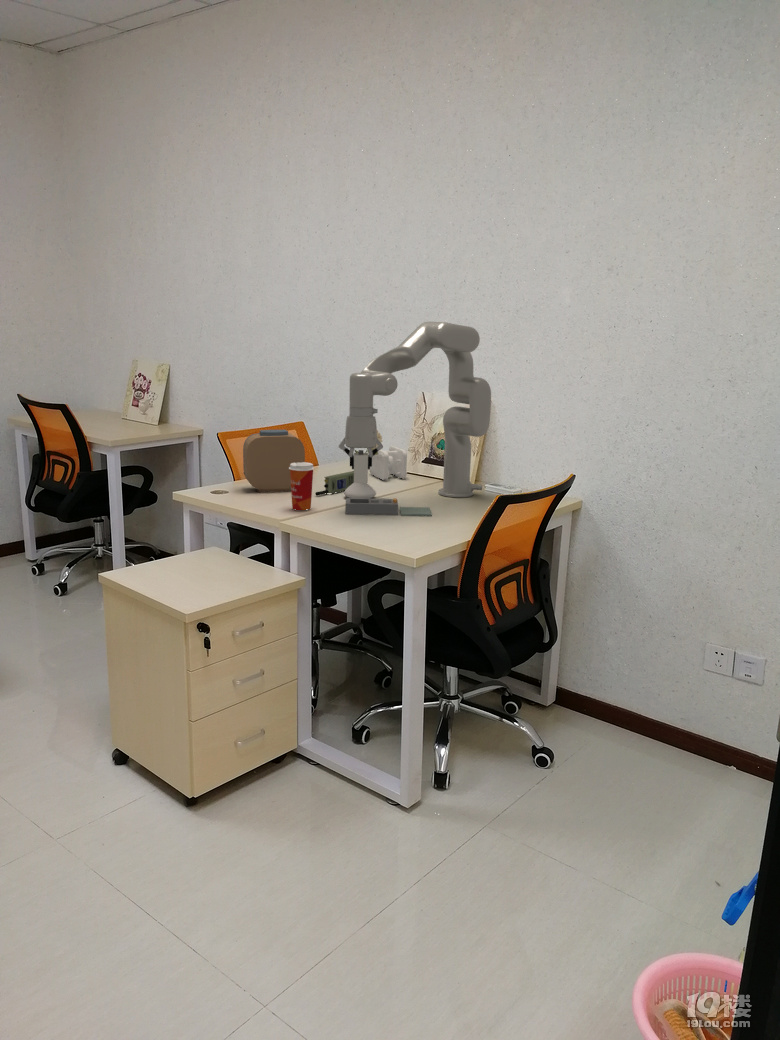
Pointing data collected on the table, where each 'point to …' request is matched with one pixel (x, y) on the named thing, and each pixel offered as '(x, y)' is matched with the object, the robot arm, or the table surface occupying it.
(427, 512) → the mat
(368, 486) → the flower in vase
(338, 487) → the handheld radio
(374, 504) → the power strip
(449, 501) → the table surface
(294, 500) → the coffee cup
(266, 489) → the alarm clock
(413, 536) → the table surface
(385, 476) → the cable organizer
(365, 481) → the block
